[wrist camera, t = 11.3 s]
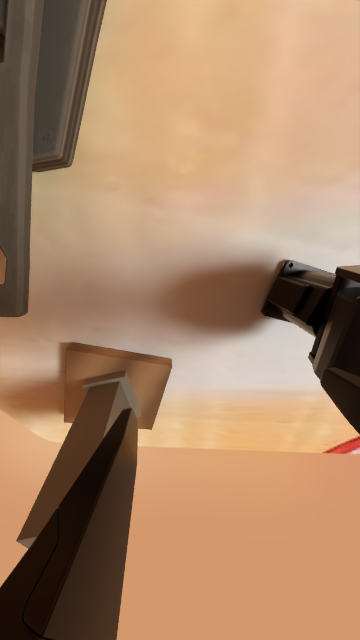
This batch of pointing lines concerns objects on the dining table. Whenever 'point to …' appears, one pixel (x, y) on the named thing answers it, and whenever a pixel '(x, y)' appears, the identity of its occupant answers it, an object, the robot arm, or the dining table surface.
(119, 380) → the picture frame
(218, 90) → the dining table surface
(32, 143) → the zipper pull
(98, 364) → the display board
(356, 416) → the robot arm
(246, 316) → the dining table surface
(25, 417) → the dining table surface
